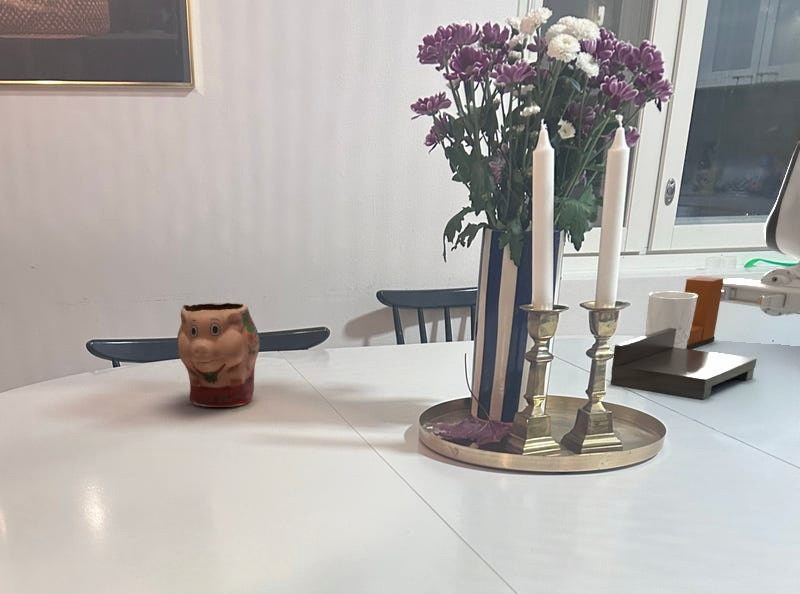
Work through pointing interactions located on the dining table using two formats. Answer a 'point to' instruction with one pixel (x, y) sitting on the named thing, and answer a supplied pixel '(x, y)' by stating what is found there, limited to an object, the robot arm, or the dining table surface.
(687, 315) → the white cup
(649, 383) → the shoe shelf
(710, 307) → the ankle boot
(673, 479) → the dining table surface
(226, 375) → the decorative planter
